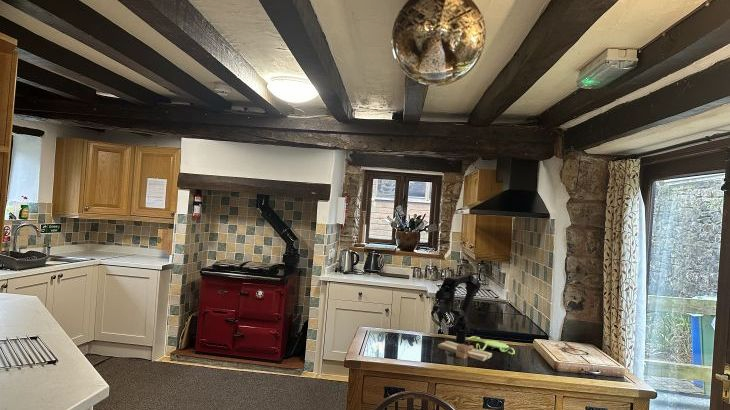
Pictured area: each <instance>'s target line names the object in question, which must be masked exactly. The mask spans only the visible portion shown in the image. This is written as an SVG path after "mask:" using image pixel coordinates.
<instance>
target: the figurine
mask: <svg viewBox="0 0 730 410" xmlns="http://www.w3.org/2000/svg"><path fill="white" fill-rule="evenodd" d="M472 339H475V341H477V342H480V343H483V344H484V346H483V347H482V348H481V345H480V344H479V343H476V345H475V346H476V348H479V350H482V351H485V350H486V348H487V346H488V347H491V350H493V349H495V348H497V349H498V350H499V351H500V352H502V353H506V352H507V353H508V354H509V355H512V356H513V354H514V355H515V353H516V351H515V349H514V348H513V347H510V346H509V345H508V344H506V343H504V342H502V341H496V340H487V339H486V340H482V339H481V337H480V336H476V335H475V336H474V335H472V336H470V337H467V338H466V340H467V341H468V340H472ZM509 350H512V352H511V351H509Z"/></svg>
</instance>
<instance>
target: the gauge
mask: <svg viewBox="0 0 730 410" xmlns="http://www.w3.org/2000/svg"><path fill="white" fill-rule="evenodd" d="M459 344H460V343H459ZM473 348H475V346H474V345H466V344H464V343H461V344H460V345H457V350H456V353H455V357H457V358H460V359H463V360H465V359H467V358H469V357H468V354H469V350H470V349H473Z"/></svg>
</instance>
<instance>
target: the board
mask: <svg viewBox="0 0 730 410" xmlns="http://www.w3.org/2000/svg"><path fill="white" fill-rule="evenodd" d="M457 345H460V343H457V342H455V341H454V342H453V341H450V340H446V341H443V342H441V343H438V344H437V349H441V350H443V351H447V352H450V353H453V354H456V350H457ZM492 357H493V353H492V352H488V351H485V350H483V351H482V350H480V349H478V348H475V347H474V348H473V349H470V350H469V354H468V357H467V358H470V359H473V360H474V359H475V360H477V361H480V362H485V361H486V360H488V359H491V358H492Z"/></svg>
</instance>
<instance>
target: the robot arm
mask: <svg viewBox="0 0 730 410" xmlns="http://www.w3.org/2000/svg"><path fill="white" fill-rule="evenodd" d="M461 284H465V291H466V292H465V293H466V294H465V296H464V299H463V302H462V305H461V309H456V310H455V307H454V305H455V303H456V301H455V296H456V295H455V294H456V292H458V290H457V288H458V287H459V285H461ZM481 287H482V284H481V283H480V280H478V279H477V278H476V277H475V276H474V275H473V274H471V273H464V274H461V275H458V276H455V277H454V276H446V277H445V278H444V280H443V282H442V284H441V286H440V287H439V288H438V290H437V291H436V293H435V298H436V299H437V300H438V301H442V303H441V304H434V305H432V311H433V312H434V313H436V315H437V318H438V323H439V324H441V323H442V320H443V319H442V318H443V314H447V313H450V314H453V321H452V326H453V327H452V328H453V331H456V334H455V339H453V341H454V342H456V343H457V342H458V343H459V344H460V343H461V344H464V343H467V342H468V340H467V338H466V337H467V334H469V333H470V330H471V329H470V326H469V319H468V316H469V312H470V310H471V307H472V303H473V301H474V297H475V295H476V294H478V293H479V291H480V288H481Z"/></svg>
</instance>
